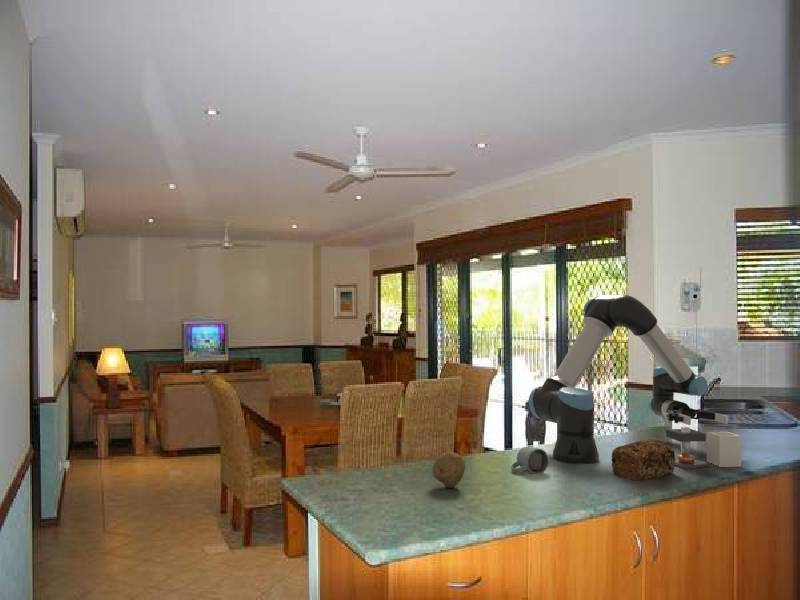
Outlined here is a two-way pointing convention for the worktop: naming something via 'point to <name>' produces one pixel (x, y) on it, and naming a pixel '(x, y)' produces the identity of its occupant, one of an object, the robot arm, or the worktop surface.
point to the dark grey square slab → (685, 435)
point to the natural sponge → (449, 469)
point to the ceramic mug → (531, 460)
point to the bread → (643, 460)
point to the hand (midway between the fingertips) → (708, 420)
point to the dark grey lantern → (687, 455)
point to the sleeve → (724, 449)
